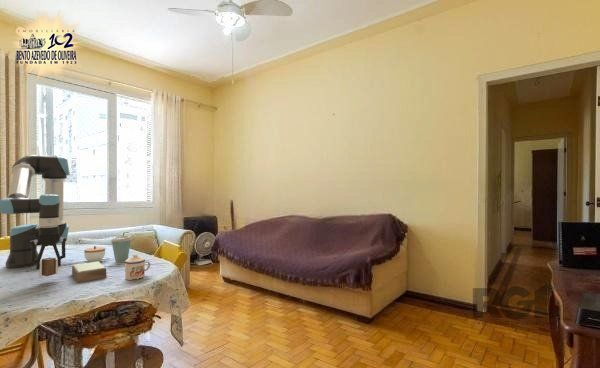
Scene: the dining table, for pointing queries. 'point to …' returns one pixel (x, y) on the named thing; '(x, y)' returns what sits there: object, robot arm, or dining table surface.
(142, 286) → the dining table surface
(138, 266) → the teacup with lid
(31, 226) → the robot arm
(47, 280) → the dining table surface
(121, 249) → the disposable coffee cup
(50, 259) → the wooden block
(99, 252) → the lidded jar
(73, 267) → the walnut stand
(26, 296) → the dining table surface
